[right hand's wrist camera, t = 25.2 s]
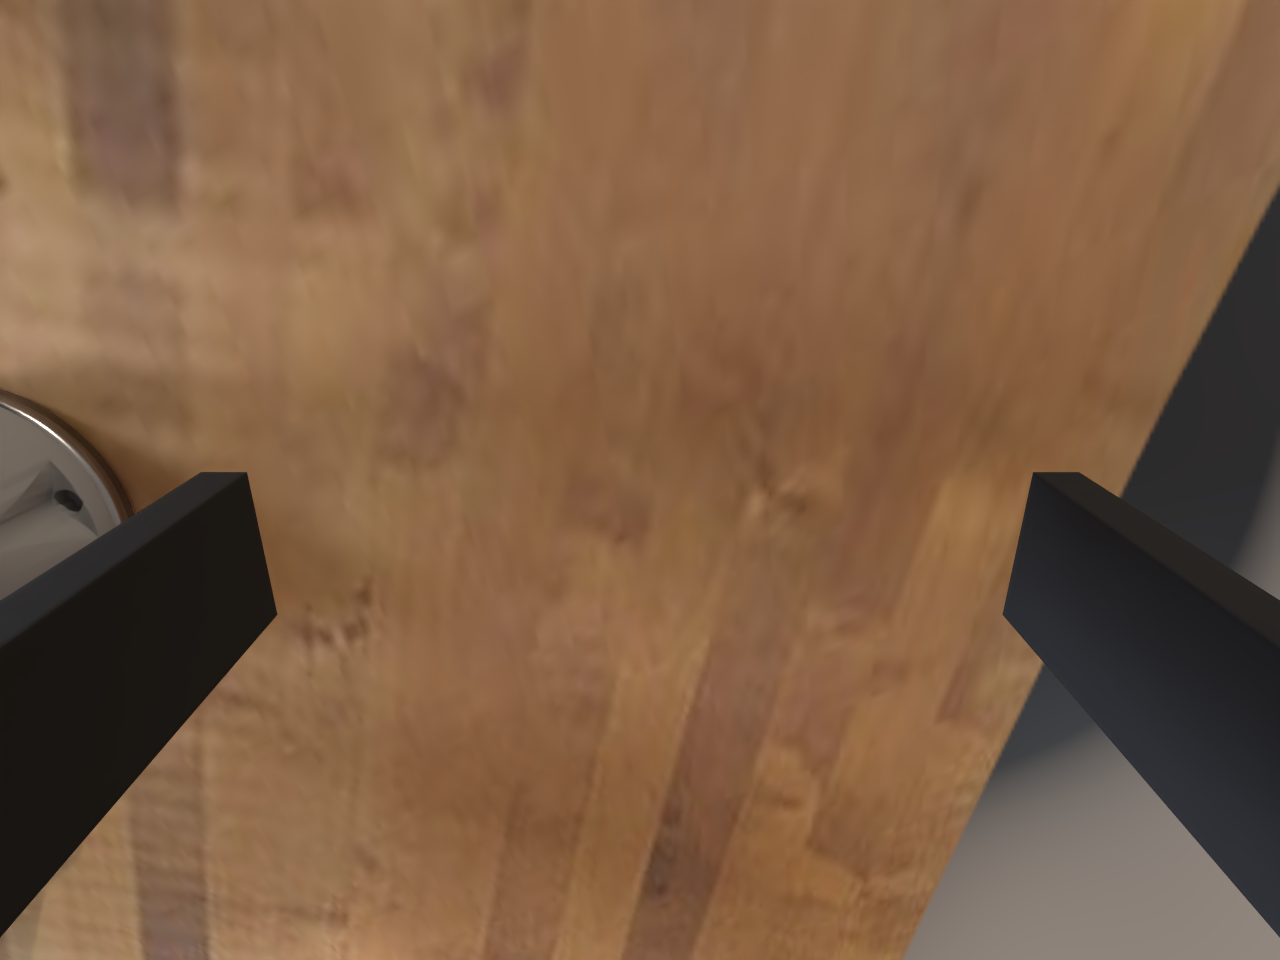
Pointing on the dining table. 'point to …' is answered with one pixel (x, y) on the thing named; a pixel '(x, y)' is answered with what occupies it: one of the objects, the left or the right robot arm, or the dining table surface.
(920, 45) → the dining table surface
